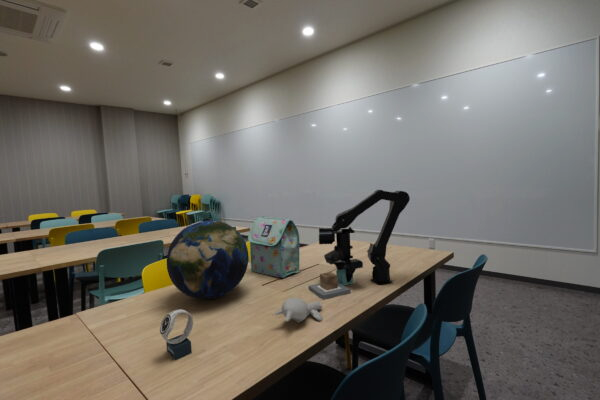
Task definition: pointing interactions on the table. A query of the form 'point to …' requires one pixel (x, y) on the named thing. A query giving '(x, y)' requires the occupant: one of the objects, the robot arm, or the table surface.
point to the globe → (207, 259)
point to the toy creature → (299, 309)
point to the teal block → (343, 277)
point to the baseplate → (329, 291)
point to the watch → (180, 343)
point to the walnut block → (328, 281)
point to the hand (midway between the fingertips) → (344, 280)
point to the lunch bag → (274, 247)
